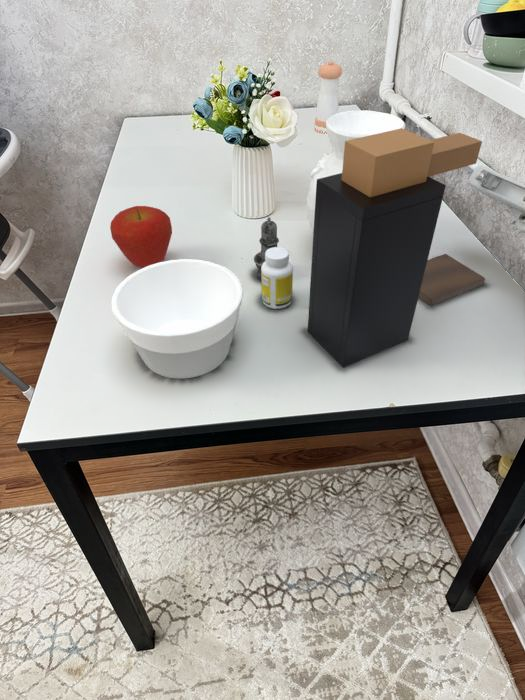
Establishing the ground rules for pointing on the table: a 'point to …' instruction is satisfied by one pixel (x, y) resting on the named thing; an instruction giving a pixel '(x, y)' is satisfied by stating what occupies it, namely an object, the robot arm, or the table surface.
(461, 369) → the table surface
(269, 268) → the supplement bottle
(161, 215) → the apple
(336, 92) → the salt shaker
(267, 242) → the dark grey tall piece
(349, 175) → the brown stepped block
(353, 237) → the tall black box
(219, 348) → the bowl
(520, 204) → the robot arm
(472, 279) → the board
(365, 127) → the pitcher
